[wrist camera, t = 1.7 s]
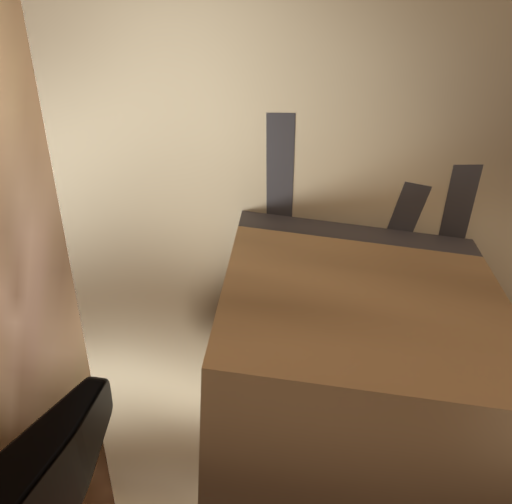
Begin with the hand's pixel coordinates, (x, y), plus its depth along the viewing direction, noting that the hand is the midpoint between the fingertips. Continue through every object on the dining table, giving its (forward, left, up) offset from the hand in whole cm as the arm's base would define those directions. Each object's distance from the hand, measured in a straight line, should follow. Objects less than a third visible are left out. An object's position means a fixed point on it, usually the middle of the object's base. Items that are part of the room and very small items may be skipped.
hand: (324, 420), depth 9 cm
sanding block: (0, 0, -2) cm, 2 cm away
